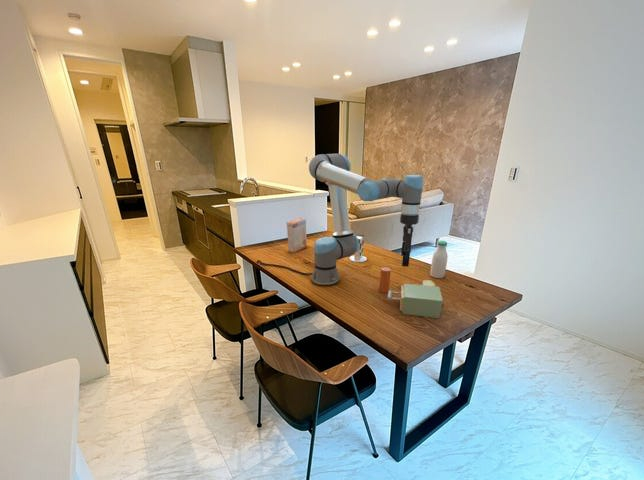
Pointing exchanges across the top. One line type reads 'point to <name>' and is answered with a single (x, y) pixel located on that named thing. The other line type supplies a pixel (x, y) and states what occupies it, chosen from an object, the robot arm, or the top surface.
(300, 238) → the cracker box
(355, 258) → the white post on base
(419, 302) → the cabinet
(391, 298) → the drawer
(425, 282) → the stacked layers on plate
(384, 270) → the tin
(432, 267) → the milk bottle
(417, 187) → the robot arm
